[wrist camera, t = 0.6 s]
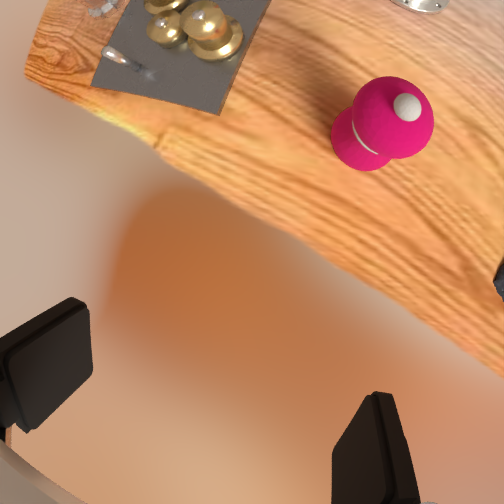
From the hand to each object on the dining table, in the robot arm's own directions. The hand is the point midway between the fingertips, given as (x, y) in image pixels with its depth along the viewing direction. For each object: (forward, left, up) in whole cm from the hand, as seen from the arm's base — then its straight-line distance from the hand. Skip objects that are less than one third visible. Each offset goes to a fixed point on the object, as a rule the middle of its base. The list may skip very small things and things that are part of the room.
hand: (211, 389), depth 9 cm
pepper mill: (-13, +4, -30) cm, 33 cm away
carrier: (-20, -24, -30) cm, 43 cm away
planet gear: (-26, -41, -30) cm, 57 cm away
